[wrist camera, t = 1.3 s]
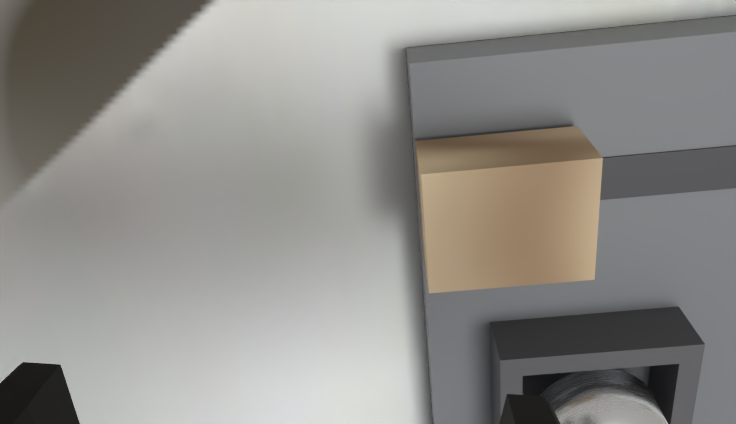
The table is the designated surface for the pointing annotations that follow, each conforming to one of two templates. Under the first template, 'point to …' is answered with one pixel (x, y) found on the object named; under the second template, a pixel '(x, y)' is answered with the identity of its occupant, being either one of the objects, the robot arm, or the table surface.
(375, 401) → the table surface
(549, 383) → the control panel
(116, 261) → the table surface
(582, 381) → the steel push button
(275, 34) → the table surface
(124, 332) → the table surface
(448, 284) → the block
